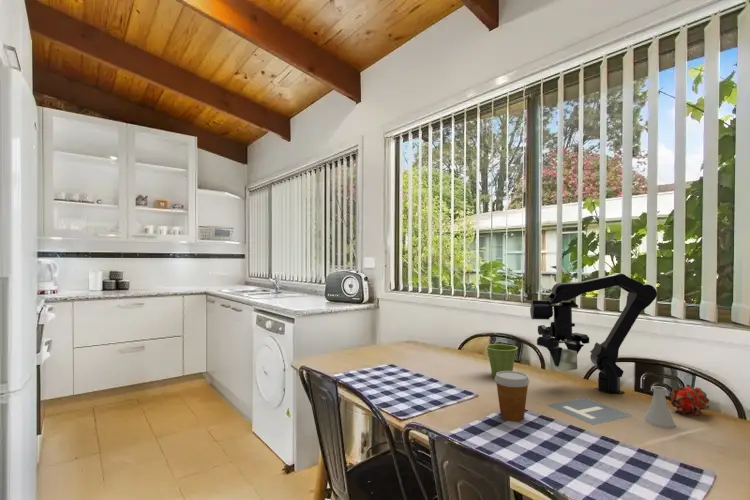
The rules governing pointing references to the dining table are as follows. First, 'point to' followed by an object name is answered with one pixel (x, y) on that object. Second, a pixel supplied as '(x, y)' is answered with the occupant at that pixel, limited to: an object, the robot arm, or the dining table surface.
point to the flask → (659, 410)
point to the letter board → (589, 411)
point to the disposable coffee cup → (512, 394)
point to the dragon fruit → (689, 399)
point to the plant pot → (501, 357)
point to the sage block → (566, 360)
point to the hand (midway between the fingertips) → (563, 365)
